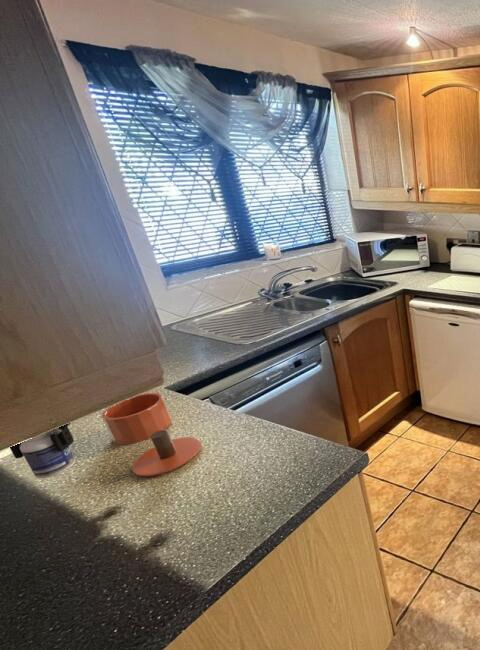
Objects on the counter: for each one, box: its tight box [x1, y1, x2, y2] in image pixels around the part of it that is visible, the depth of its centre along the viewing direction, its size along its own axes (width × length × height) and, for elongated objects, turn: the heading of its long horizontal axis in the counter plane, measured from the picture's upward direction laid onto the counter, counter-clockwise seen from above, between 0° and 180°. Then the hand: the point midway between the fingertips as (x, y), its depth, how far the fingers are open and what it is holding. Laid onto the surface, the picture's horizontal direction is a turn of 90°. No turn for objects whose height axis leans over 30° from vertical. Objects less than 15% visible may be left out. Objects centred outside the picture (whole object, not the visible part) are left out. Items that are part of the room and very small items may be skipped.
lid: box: [131, 429, 202, 477], centre depth 89 cm, size 12×12×7 cm
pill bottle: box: [20, 431, 76, 479], centre depth 74 cm, size 5×5×10 cm
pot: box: [101, 392, 173, 445], centre depth 99 cm, size 11×11×8 cm
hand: (45, 449), depth 74 cm, fingers closed on pill bottle, 5 cm apart
